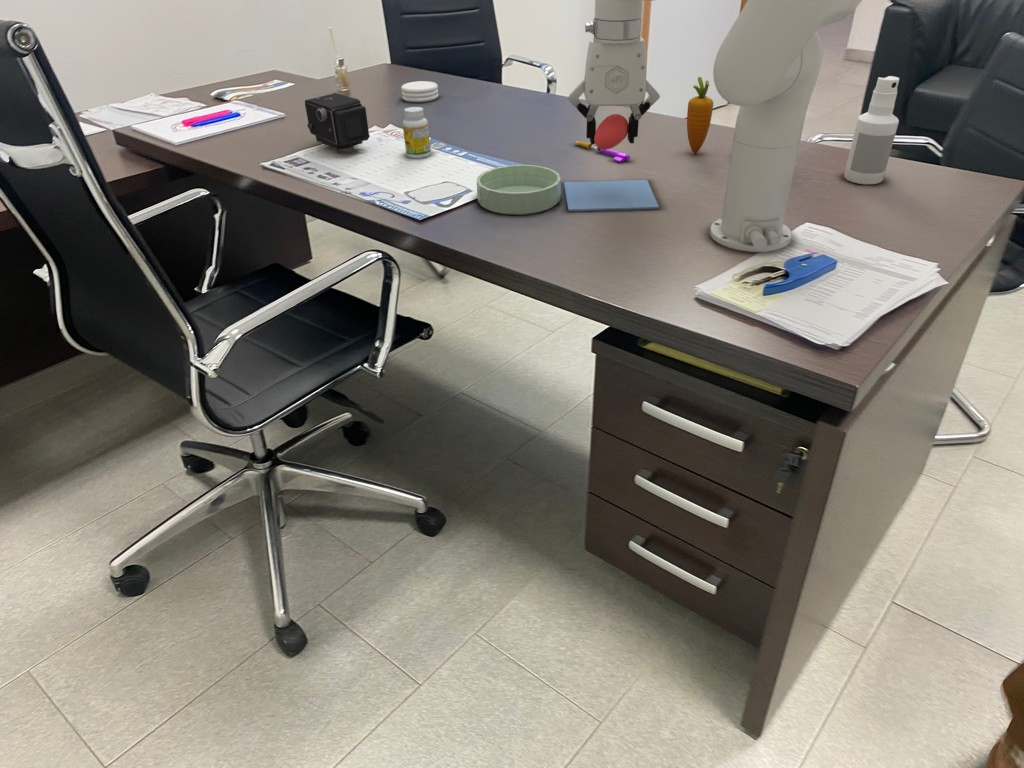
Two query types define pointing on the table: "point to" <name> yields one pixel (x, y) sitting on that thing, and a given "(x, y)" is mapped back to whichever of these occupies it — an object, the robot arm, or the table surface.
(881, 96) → the spray bottle
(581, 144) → the purple and gold rod
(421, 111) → the supplement bottle
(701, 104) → the carrot
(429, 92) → the coaster
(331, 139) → the camera
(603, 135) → the red oval piece
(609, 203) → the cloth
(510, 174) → the bowl
